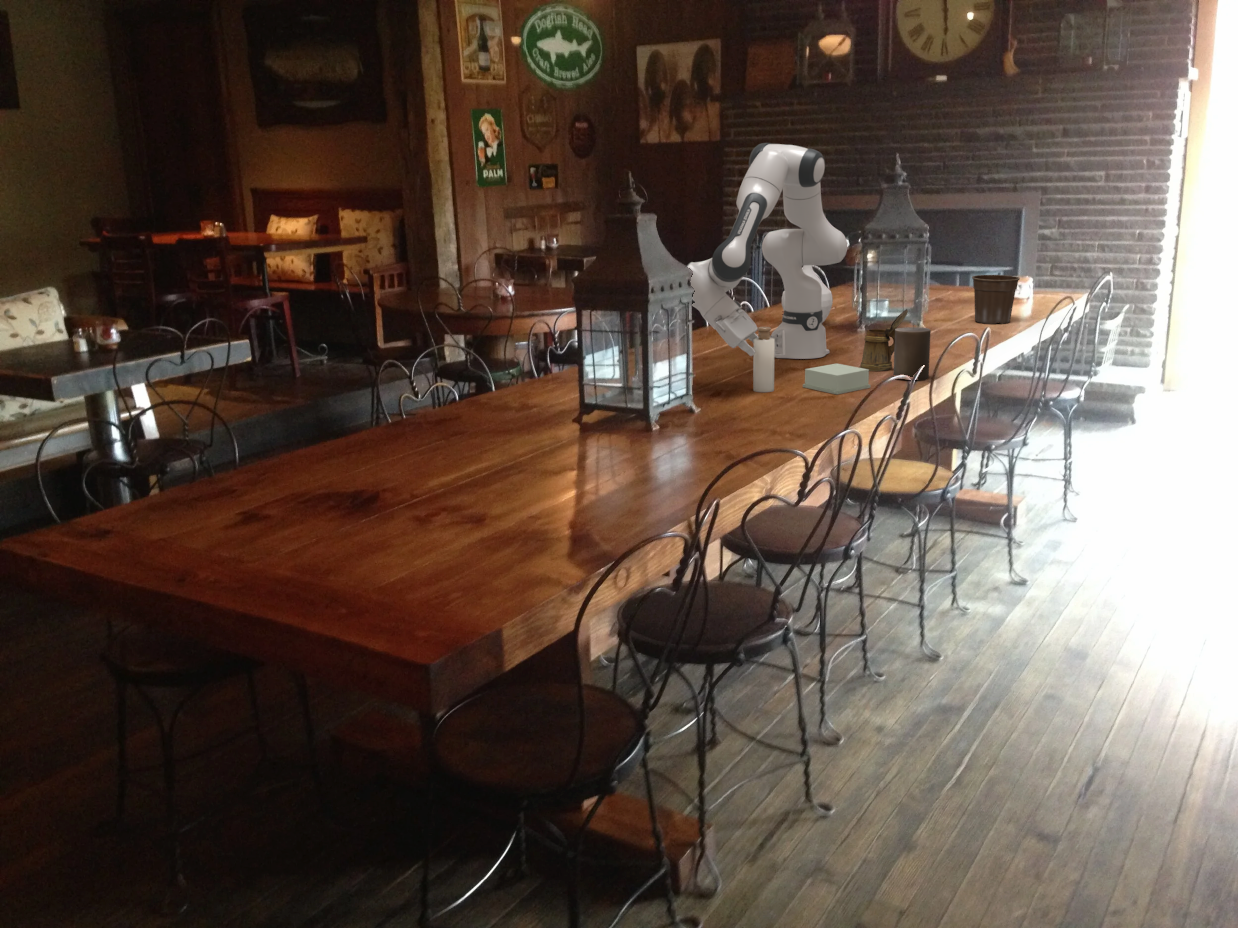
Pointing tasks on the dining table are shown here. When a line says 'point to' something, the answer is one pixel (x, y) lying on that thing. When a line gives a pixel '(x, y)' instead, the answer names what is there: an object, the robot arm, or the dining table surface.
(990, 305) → the plant pot
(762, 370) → the stoneware bottle
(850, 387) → the plinth
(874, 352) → the wooden mug
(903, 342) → the pillar candle
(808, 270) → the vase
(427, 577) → the dining table surface
